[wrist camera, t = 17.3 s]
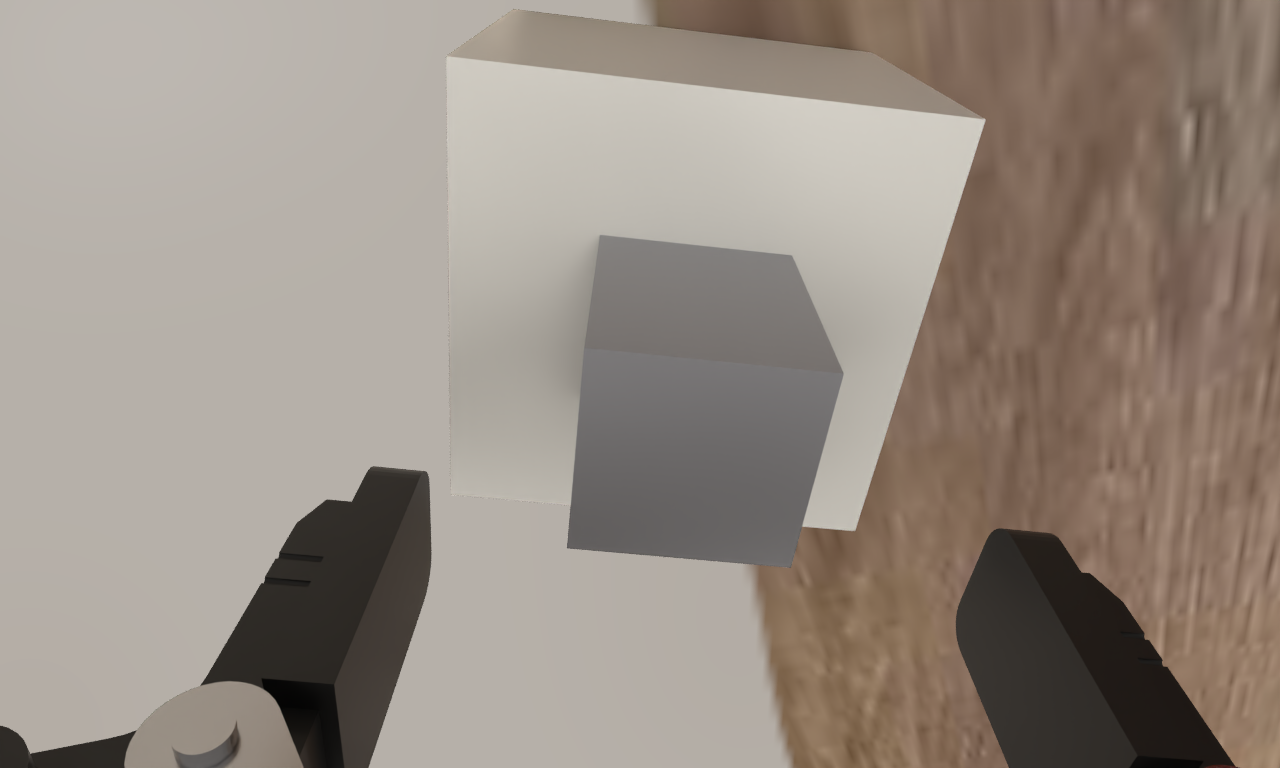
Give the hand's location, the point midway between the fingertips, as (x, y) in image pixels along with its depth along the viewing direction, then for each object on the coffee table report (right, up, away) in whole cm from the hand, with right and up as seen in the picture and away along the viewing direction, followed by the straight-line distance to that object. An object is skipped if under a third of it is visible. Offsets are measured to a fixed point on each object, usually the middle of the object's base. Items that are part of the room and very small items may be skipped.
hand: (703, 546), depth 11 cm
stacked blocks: (0, +8, +14) cm, 16 cm away
